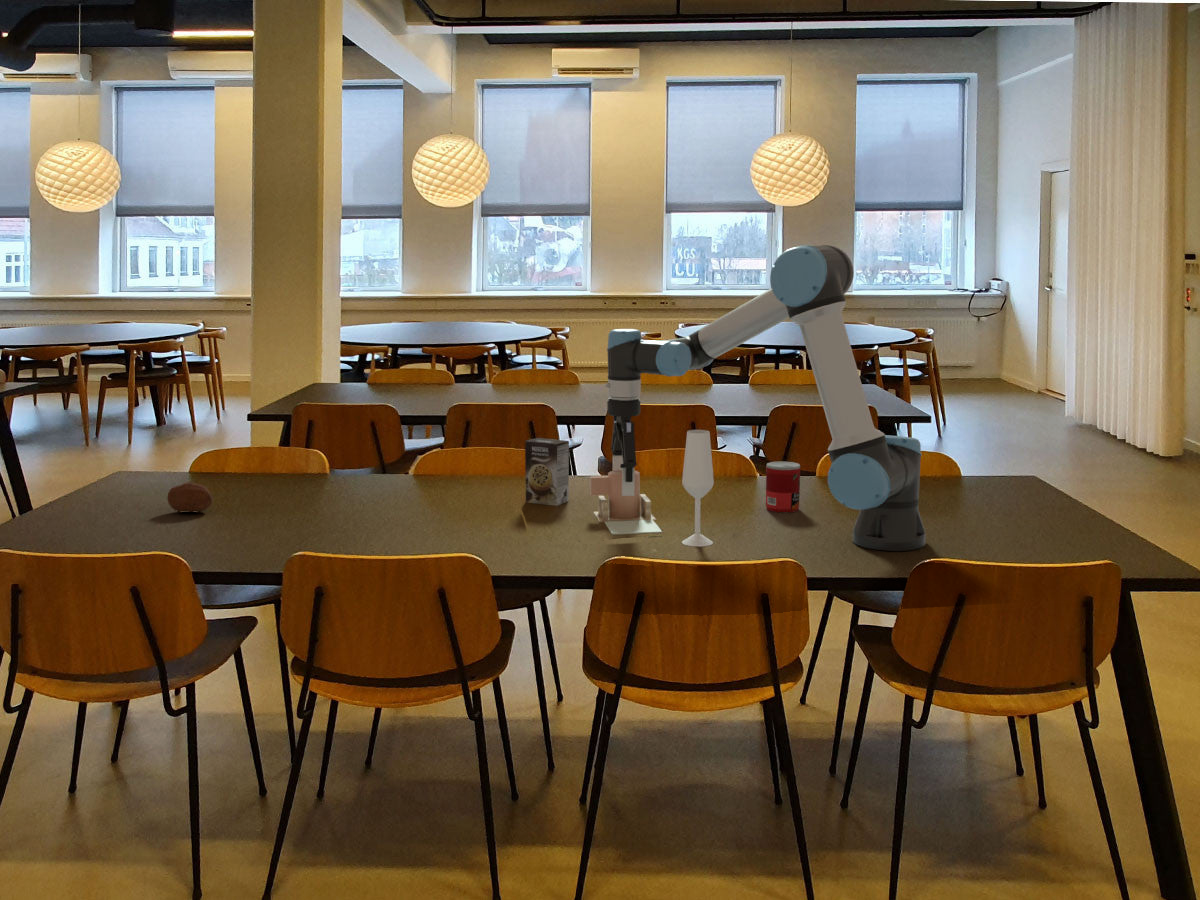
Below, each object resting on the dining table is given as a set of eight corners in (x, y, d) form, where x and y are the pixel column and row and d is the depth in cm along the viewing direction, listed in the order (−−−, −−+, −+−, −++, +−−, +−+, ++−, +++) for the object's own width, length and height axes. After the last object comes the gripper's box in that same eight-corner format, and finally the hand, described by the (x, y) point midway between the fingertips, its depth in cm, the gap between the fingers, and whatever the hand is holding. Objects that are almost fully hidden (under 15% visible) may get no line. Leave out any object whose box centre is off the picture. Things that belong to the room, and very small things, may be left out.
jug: (642, 518, 271) (642, 475, 270) (592, 520, 270) (592, 477, 268) (636, 511, 278) (636, 469, 277) (588, 513, 277) (588, 471, 275)
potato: (175, 508, 289) (173, 478, 287) (219, 508, 289) (217, 478, 287) (162, 516, 280) (160, 485, 279) (208, 516, 280) (206, 485, 279)
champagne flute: (711, 538, 257) (712, 428, 253) (715, 546, 251) (716, 434, 246) (680, 538, 257) (680, 429, 253) (683, 546, 250) (684, 434, 246)
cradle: (656, 523, 271) (656, 502, 270) (599, 525, 269) (599, 504, 268) (647, 513, 280) (647, 492, 279) (593, 515, 279) (593, 495, 278)
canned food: (798, 513, 280) (799, 467, 278) (764, 512, 281) (765, 466, 279) (799, 506, 287) (800, 461, 285) (766, 505, 288) (767, 460, 287)
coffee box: (524, 506, 289) (523, 440, 286) (538, 500, 295) (537, 436, 292) (557, 509, 285) (556, 443, 282) (570, 504, 291) (569, 439, 288)
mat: (662, 536, 259) (662, 531, 259) (612, 538, 257) (612, 533, 257) (652, 524, 270) (652, 519, 269) (604, 526, 268) (604, 521, 268)
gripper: (599, 390, 281) (599, 478, 285) (616, 406, 257) (615, 501, 261) (630, 389, 282) (629, 477, 286) (650, 405, 258) (649, 500, 262)
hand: (623, 489), depth 273 cm, fingers open, 13 cm apart
